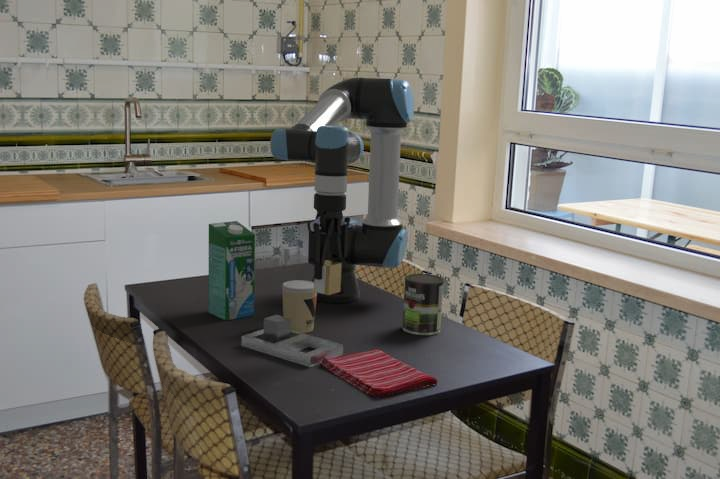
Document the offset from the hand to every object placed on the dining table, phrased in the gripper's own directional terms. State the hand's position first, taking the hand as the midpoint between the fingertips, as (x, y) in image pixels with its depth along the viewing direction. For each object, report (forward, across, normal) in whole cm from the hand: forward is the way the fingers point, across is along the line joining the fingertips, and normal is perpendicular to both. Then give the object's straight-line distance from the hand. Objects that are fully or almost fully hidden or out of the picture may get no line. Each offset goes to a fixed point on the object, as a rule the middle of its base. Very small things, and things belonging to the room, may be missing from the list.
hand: (326, 290), depth 200 cm
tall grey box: (+15, +4, -12) cm, 20 cm away
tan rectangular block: (0, 0, 0) cm, 0 cm away
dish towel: (+16, +4, +18) cm, 25 cm away
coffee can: (+15, -32, +8) cm, 36 cm away
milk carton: (+15, -8, -39) cm, 42 cm away
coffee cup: (+15, -10, -16) cm, 25 cm away
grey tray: (+15, +4, -7) cm, 17 cm away
